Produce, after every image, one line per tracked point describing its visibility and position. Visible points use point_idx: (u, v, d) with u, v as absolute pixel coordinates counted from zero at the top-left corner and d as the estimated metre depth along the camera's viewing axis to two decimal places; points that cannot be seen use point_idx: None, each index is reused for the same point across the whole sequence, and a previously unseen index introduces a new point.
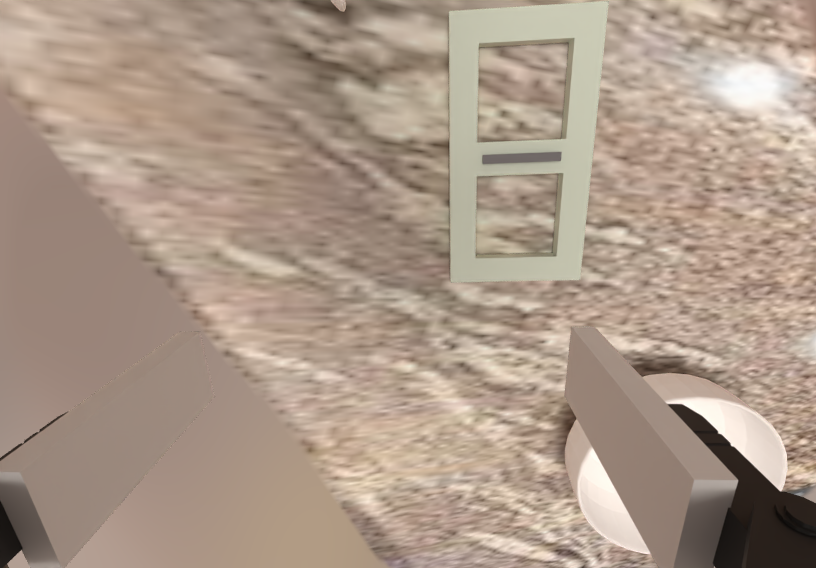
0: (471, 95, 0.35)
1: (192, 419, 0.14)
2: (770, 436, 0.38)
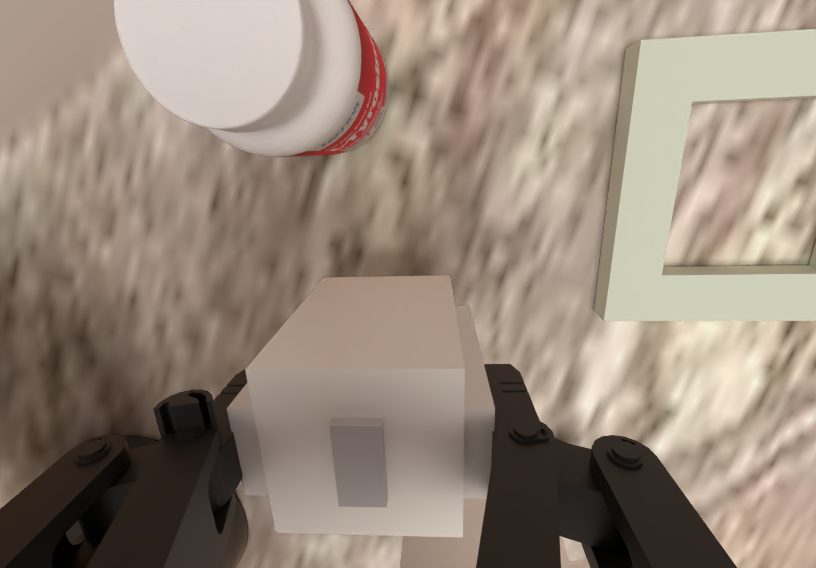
0: (745, 285, 0.20)
1: None
2: None
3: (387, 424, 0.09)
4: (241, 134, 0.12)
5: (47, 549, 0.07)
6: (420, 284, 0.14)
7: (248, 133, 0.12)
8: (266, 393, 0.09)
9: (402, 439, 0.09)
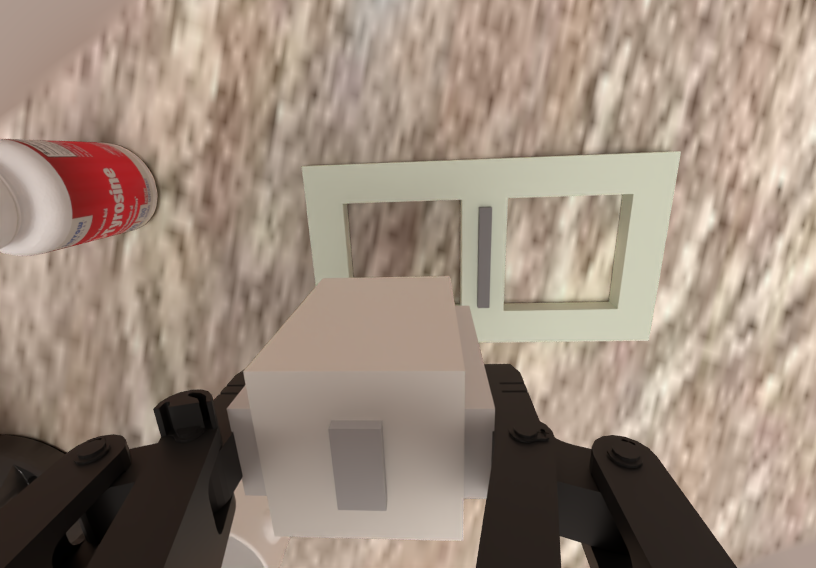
0: None
1: None
2: None
3: (387, 427, 0.09)
4: None
5: (47, 549, 0.07)
6: (420, 285, 0.14)
7: None
8: (264, 396, 0.09)
9: (402, 442, 0.09)
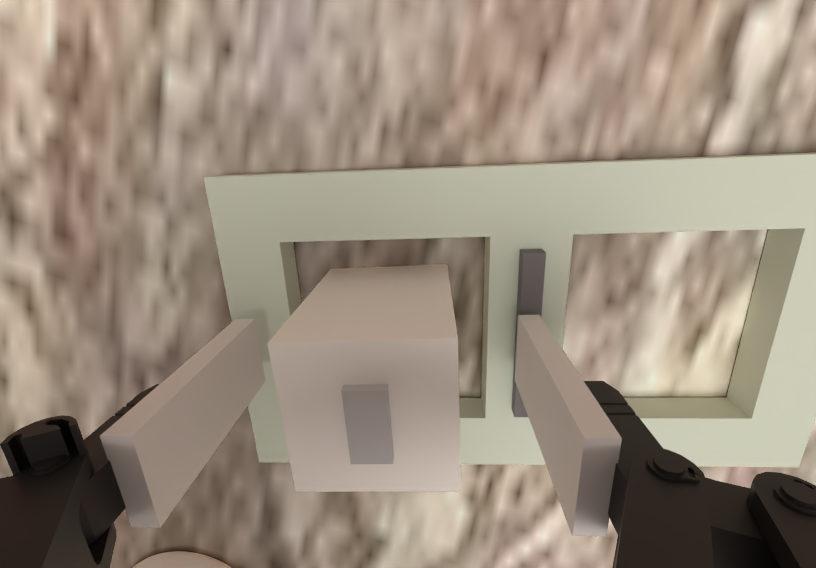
0: None
1: (248, 400, 0.15)
2: None
3: (391, 390, 0.11)
4: None
5: None
6: (419, 272, 0.16)
7: None
8: (285, 364, 0.11)
9: (405, 403, 0.11)
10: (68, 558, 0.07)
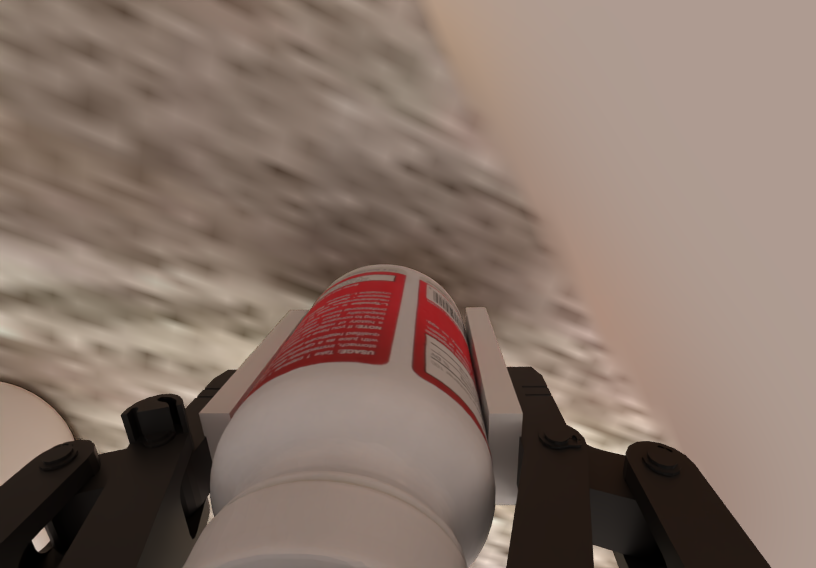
0: None
1: None
2: None
3: None
4: (221, 503, 0.08)
5: (13, 556, 0.07)
6: None
7: None
8: None
9: None
10: (169, 532, 0.07)
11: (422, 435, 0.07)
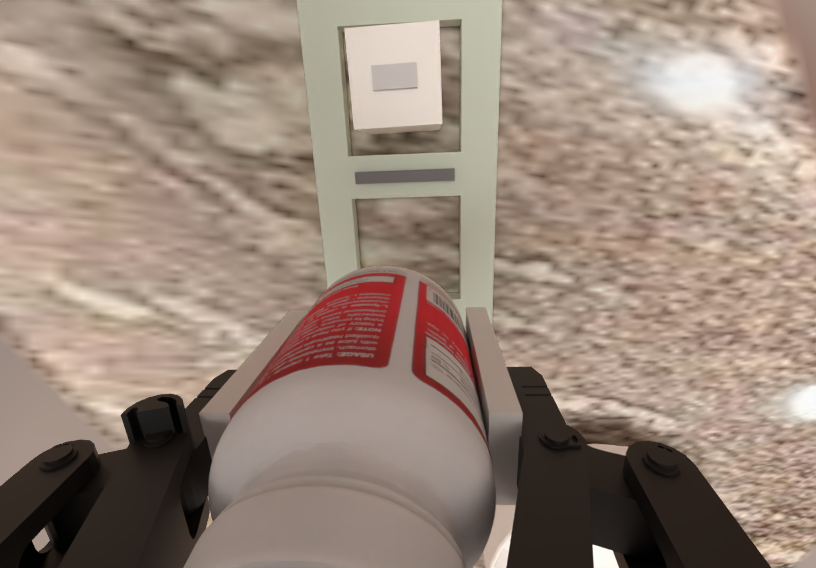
0: (334, 95, 0.27)
1: None
2: None
3: (413, 90, 0.22)
4: (219, 507, 0.08)
5: (13, 556, 0.07)
6: None
7: None
8: (427, 29, 0.21)
9: (406, 97, 0.22)
10: (169, 532, 0.07)
11: (422, 438, 0.07)
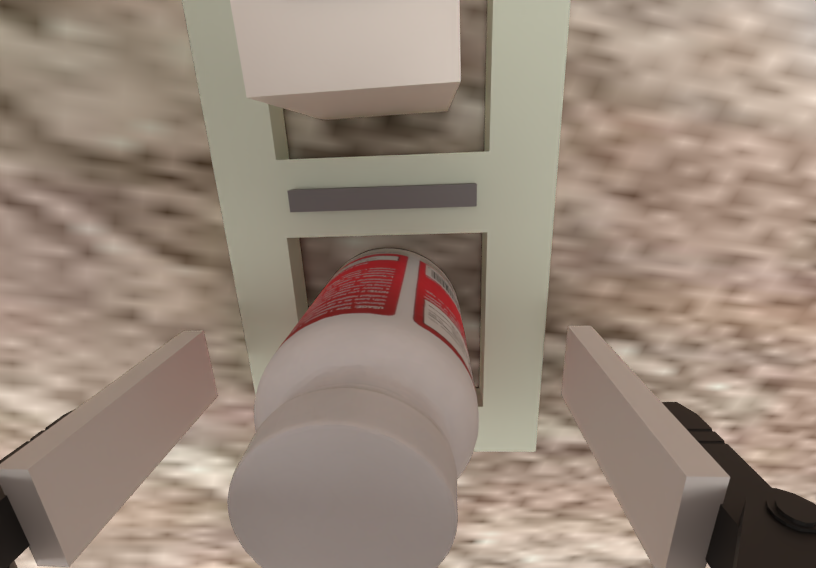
0: None
1: (196, 417, 0.14)
2: None
3: None
4: (265, 421, 0.10)
5: None
6: None
7: None
8: None
9: (370, 14, 0.09)
10: None
11: (421, 365, 0.09)
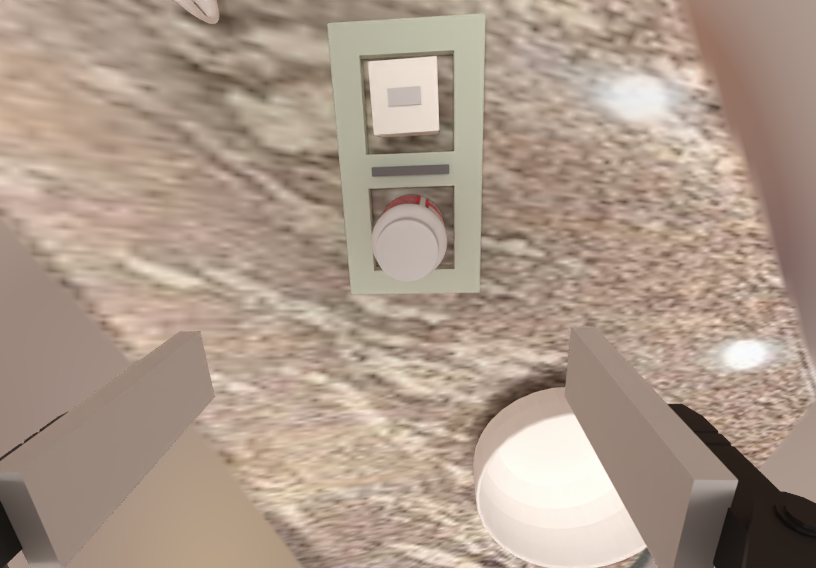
0: (356, 107, 0.35)
1: (192, 419, 0.14)
2: None
3: (418, 106, 0.29)
4: (378, 237, 0.31)
5: None
6: None
7: None
8: (427, 62, 0.29)
9: (412, 111, 0.30)
10: None
11: (428, 216, 0.30)
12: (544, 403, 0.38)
